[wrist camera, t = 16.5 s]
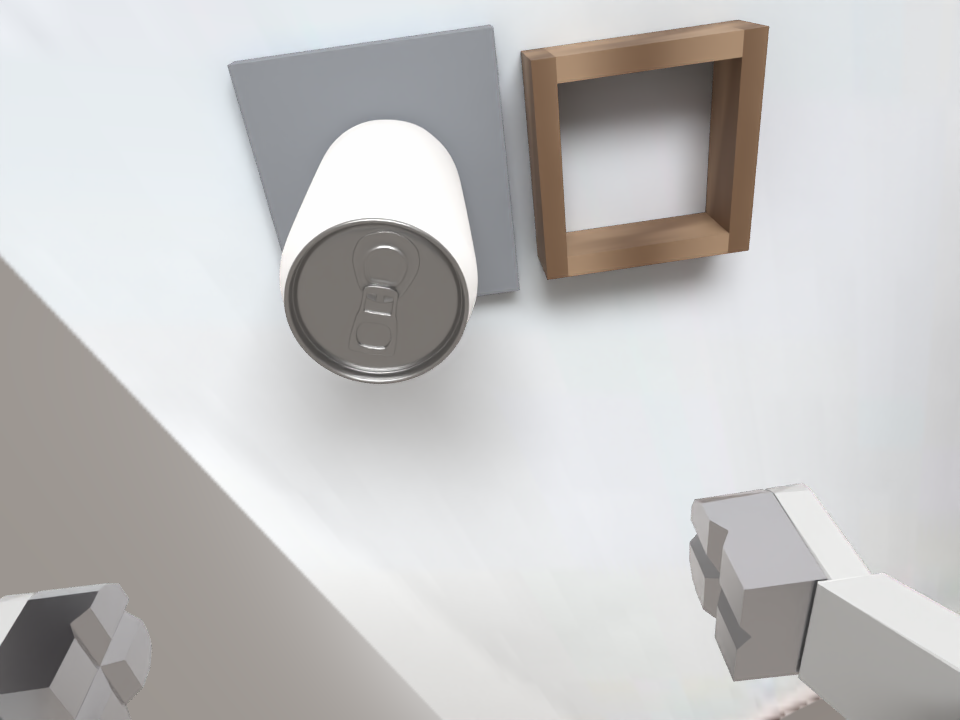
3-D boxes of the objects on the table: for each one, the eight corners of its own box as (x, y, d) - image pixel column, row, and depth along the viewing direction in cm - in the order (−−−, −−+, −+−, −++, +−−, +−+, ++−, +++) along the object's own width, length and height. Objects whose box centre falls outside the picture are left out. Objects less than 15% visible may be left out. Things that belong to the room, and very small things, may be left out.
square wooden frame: (738, 20, 30) (769, 26, 27) (723, 228, 35) (748, 250, 32) (520, 51, 30) (530, 60, 27) (537, 255, 35) (547, 279, 32)
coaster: (490, 24, 29) (493, 27, 28) (516, 280, 35) (519, 290, 34) (234, 61, 29) (227, 65, 28) (305, 311, 35) (302, 321, 34)
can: (474, 132, 30) (505, 226, 20) (446, 266, 33) (460, 407, 23) (325, 101, 29) (276, 184, 19) (311, 243, 32) (262, 380, 22)
